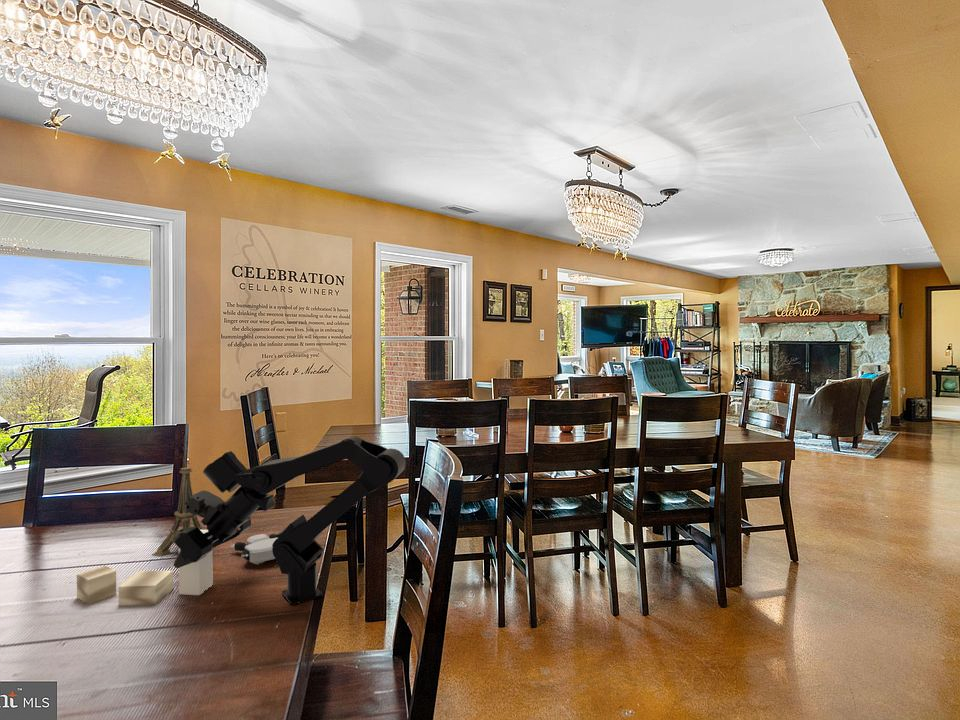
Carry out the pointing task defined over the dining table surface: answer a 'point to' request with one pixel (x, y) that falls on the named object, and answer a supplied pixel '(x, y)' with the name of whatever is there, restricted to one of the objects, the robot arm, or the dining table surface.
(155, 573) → the tan glossy block
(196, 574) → the pillar
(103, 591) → the cube
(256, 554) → the robot toy
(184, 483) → the eiffel tower
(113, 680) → the dining table surface
